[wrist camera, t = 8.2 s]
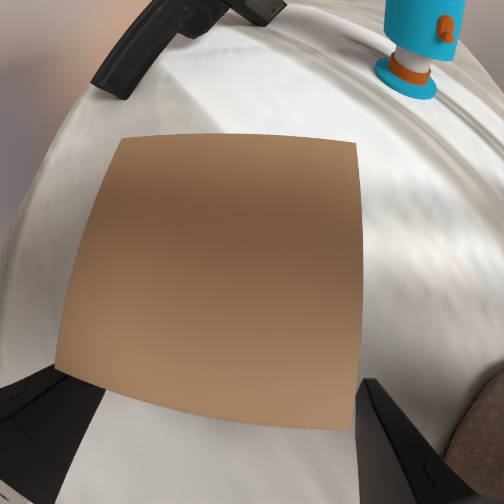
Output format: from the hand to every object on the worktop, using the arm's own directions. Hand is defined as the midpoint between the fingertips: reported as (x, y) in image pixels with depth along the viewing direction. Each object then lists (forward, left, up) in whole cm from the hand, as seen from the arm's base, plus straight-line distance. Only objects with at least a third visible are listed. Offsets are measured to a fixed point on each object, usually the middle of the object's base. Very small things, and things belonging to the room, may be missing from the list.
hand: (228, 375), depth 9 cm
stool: (+3, 0, -7) cm, 7 cm away
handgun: (+33, +11, -8) cm, 36 cm away
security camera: (+30, -13, -8) cm, 34 cm away
